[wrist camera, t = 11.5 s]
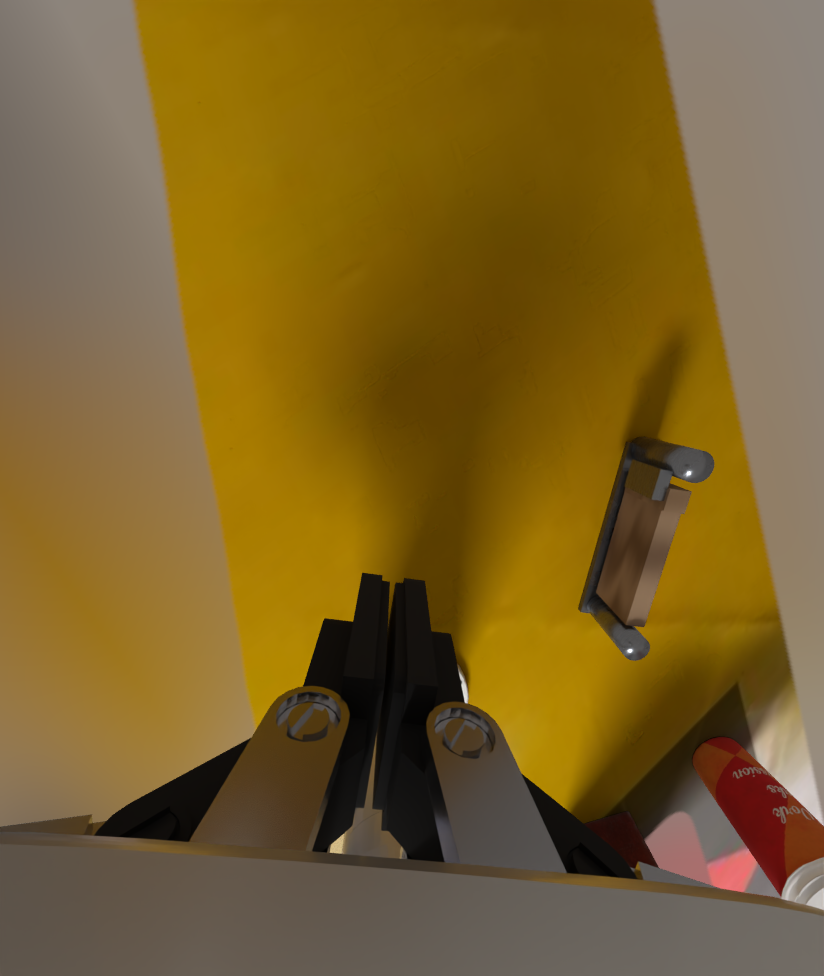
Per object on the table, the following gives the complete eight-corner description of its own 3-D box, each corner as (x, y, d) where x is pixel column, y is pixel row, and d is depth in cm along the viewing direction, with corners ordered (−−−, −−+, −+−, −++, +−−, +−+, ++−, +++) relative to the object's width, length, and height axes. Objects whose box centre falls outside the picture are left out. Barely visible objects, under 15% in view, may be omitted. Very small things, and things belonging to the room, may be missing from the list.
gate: (612, 594, 40) (646, 629, 35) (595, 592, 40) (627, 627, 35) (647, 474, 37) (691, 491, 32) (629, 472, 37) (670, 488, 32)
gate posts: (606, 613, 42) (649, 662, 35) (573, 608, 42) (609, 657, 35) (660, 439, 38) (722, 454, 30) (623, 433, 37) (677, 446, 30)
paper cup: (764, 750, 47) (910, 899, 34) (713, 793, 49) (835, 953, 35) (718, 716, 46) (852, 858, 32) (667, 762, 47) (775, 916, 34)
